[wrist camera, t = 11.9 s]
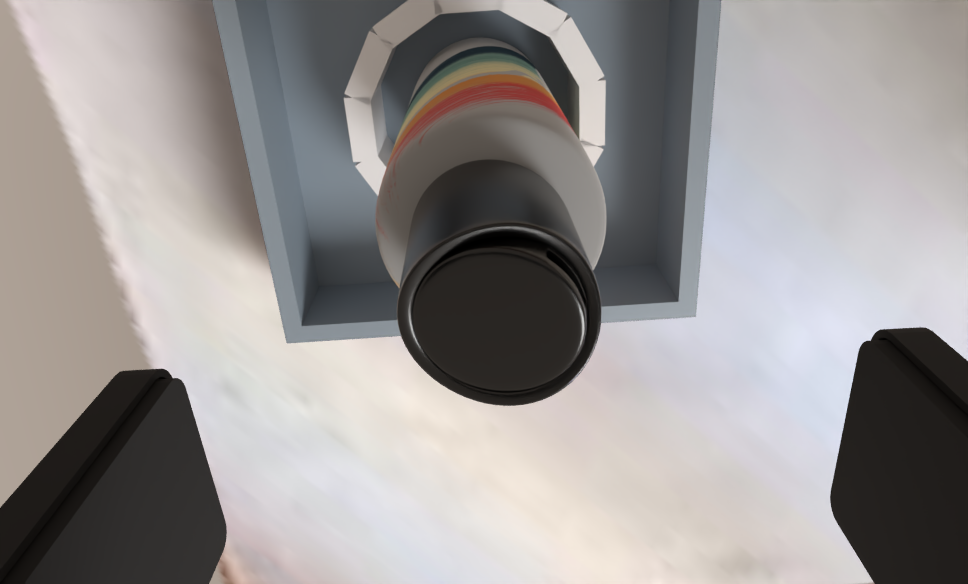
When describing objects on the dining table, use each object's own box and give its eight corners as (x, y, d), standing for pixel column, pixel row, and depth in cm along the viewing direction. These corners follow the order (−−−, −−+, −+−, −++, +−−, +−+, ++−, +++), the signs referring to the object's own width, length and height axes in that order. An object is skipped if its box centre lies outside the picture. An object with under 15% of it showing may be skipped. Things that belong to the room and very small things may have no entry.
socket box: (691, -152, 27) (735, -172, 23) (666, 269, 35) (695, 316, 31) (230, -119, 27) (183, -133, 23) (309, 292, 35) (286, 343, 31)
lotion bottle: (570, 118, 31) (718, 360, 13) (466, 192, 32) (468, 504, 14) (494, 5, 29) (545, 104, 11) (387, 90, 30) (270, 303, 12)
